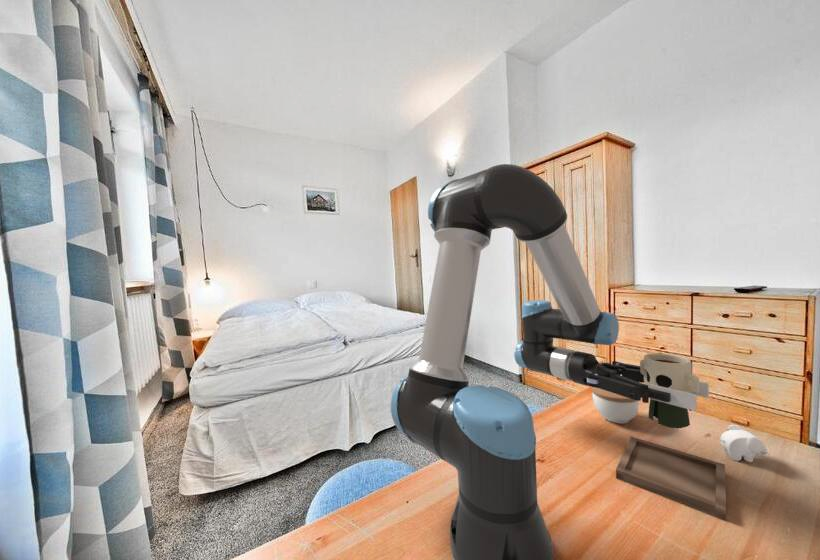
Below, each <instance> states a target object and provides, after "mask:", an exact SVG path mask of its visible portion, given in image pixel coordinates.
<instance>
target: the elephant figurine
mask: <svg viewBox="0 0 820 560" xmlns="http://www.w3.org/2000/svg"><path fill="white" fill-rule="evenodd" d="M716 439H717V440H719V442H720V444H721V448H722V449H723V451H724V452H725V454H726V455H727V456H729V457H730V459H732V460H734V461H741V460H742V458H743V460H744V461H745V462H747V463H753V461H754V458H755V456H758V457H760V458H761V457H763V456H766V455H769V452H768V449H767V448H766V446H765V444H764V442H763V441H762V440H761V439H760V438H759V437H757V436H755V435H754V434H753V433H751V432H749V431H746V430H745V429H744V428H743V427H742V426H740V425H737V424H730V425H728V426H727V428H726V431H724V432H723V433H722V434H721V435H720V438H718V437H717V438H716Z"/></svg>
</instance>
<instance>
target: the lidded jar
mask: <svg viewBox="0 0 820 560" xmlns="http://www.w3.org/2000/svg"><path fill="white" fill-rule="evenodd" d="M591 393H592V402H593V404H594V407H595V408H596V410H597V412H598V413H599V414H600V415H601V416H602V417H604V420H606V419H607V420H606V421H609V422H611V423H615V424H627V423H629V422H630V421H631V420H633V419H634V418H635V417H636V416H637V414H638V412H639V406H640V401H637V400H633V399H630V398H627V397H624V396H621V395H618V394H615V393H612V392H609V391H606V390H603V389H600V388H595V387H591Z"/></svg>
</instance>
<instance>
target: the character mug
mask: <svg viewBox="0 0 820 560" xmlns="http://www.w3.org/2000/svg"><path fill="white" fill-rule="evenodd" d="M639 366H640V372H641V374H642V375H644V383H643V384H645V385H648V388H650V384H653V385H657V386H662V387H666V388H670V389H674V390H679V391H683V392H687V393H691V392H692V393H695V394H698V393H699V391H700V384H699V381H700V378H699V377H698V376H697V375H695V374H693V370H692V369H693V367H692V366H693V365H692V360H691V359H689V358H688V357H684V356H682V355H676V354H670V353H658V352H654V353H652V352H651V353H646V354H644V356H643V359H641V360H640V361H639ZM648 404H649V406H648V415H647V416H648V418H649V420H650V421H652V422H654V418H655V419H657V424H658V425H659V426H663V427H666V428H671V429H677V430H678V429H683V428H687V427H689V426H691V422H690V416H689V409H686V408H682V407H678V406H675V405H671V404H667V403H664V402H660V401H656V400H652V399H650V398H649V403H648Z"/></svg>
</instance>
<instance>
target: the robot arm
mask: <svg viewBox="0 0 820 560" xmlns="http://www.w3.org/2000/svg"><path fill="white" fill-rule="evenodd" d="M431 195H432V196H431V197H430V200H429V201H428V208H427V217H428V218H427V219H428V220H430V222H429V224H430V227H431V229H432V230H433V232H434V234H433V237H434V238H435V240H436V242H437V243H438V245H439V248H438V251H437V252H438V253H437V258H436V265H435V269H434V275H433V280H432V287H431V291H430V298H429V302H428V307H427V313H426V318H425V322H424V323H425V325H424V329H423V335H422V340H421V345H420V346H421V347H420V353H419V358H418V359H417V360H416V361H415V362H414V363H412V364H411V365H409V370H408V374H407V375H405V376H404V377H402V378H401V379H400V383H398V384H396V385H395V387H394V389H393V392H392V396H391V401H390V413H391V418H392V421H393V423H394V425H395V427H396V429H397V430H398V431H399V432H400V433H401V434H402V435H404V436H405V437H406V438H407V439H408V440H409V441H411V443H413V444H417V445H418V446H420V447H421V448H423V449H425V450H426V451H429V453H431V454H433V455H435V456H436V457H438V458H439V459H441V460H443V461H444V462H446V463H448V464H449V465H450V466H452V467H454V468H455V469H456V471H457V480H458V482H457V483H458V495H457V499H456V503H455V506H454V509H453V513H452V517H451V520H450V526H449V535H450V539H449V540H450V549H451V554H452V556H453V557H452V558H453V559H455V560H554V553H553V542H552V539H551V535H550V533H549V531H548V528H547V526H546V522H545V519H544V517H543V514H542V512H541V509H540V506H539V504H538V481H537V459H536V457H537V456H536V455H537V454H536V447H537V437H536V433H535V426H534V420H533V419H534V418H533V416H532V412H531V411H530V409H529V407H528V405H527V404H526V403H525V402H524V401H523V400H522V399H521V398H520V397H518V396H517V395H516V394H514V393H512V392H510V391H508V390H506V389H504V388H501V387H496V386H492V385H490V386H485V385H469V383H470V382H469V381H470V378H469V376H468V375H467V373H466V372H465V370H464V361H465V356H466V355H465V354H466V349H467V341H468V337H469V336H468V335H469V329H470V322H471V316H472V311H473V304H474V297H475V290H476V283H477V278H478V272H479V265H480V258H481V252H482V250H484V249H485V248H487V247H488V246H489V245H490V243H491V236H492V231H493V230H497V229H501V228H502V229H503V228H507V229H510V230H511V231H512V232H513V233H514V235H515V236H516V239H517V240H519V241H520V242H524V243H525V245H526V246H527V249H528V250H529V252H530V255H531V256H532V258H533V260H534V262H535V264H536V266H537V267H538V269H539V272H540V274H541V275H542V277H543V279H544V282H545V283H546V285H547V287H548V289H549V291H550V293H551V295H552V296H553V299H554V301H555V302H556V304H557V306H558V308H553V306H552V303H551V301H550V300H543V299H534V300H533V299H531V300H526V301H524V302H522V305H521V323H522V325H521V326H522V335H523V336H522V337H523V339H522V340H521V341H519V342H518V343H517V344H516V346H515V348H514V349H515V351H514V353H513V355H514V356H513V357H514V360H515V363H516V364H517V365H518V366H519V367H521V368H524V369H526V370H528V371H531V372H535V373H540V374H544V375H548V376H552V377H554V378H559V379H561V380H562V381H563V382H565V381H570V382H573V383H575V384H580V385H582V386H587V387H591V388H592V387H595V388H600V389H603V390H606V391H609V392H612V393H615V394H618V395H621V396H624V397H627V398H630V399H633V400H637V401H639V402H642V403H644V404H650V399H652V400H656V401H660V402H664V403H667V404H671V405H675V406H678V407H682V408H686V409H688V410H691V411H694V412H697V410H698V402H697V400H698V399H697V396H699V397H703V398H706V399H709V397H710V390H709V389H710V388H709V387H710V386H709V385H710V383H709V382H706V381H701V380H699V384H700V391H699V393H698V394H695V393H692V392H691V393H687V392H683V391H679V390H674V389H670V388H666V387H662V386H657V385H653V384H650V388H648V385H645V383H644V375H642V374H641V372H640V365H637V364H630V363H624V362H621V361H616V360H612V361H611V362H612V363H611V362H601V363H600V362H599V361H598V360H597V358H596V356H595V355H594V354H593V353H587V352H583V351H576V350H575V349H574V350H573V349H568V348H562V347H557V346H554V339H559V340H565V341H573V342H579V343H586V344H593V345H595V346H596V345H603V346H611V345H614V344H616V342H617V340H618V337H619V331H620V330H619V329H620V327H619V325H620V324H619V319H618V317H617V315H616V314H615V313H612V312H607V311H601V309H600V308H599V304H598V302H597V299H596V298H595V296H594V293H593V290H592V287H591V285H590V283H589V280H588V278H587V276H586V275H585V271H584V269H583V265H582V264H581V262H580V259H579V257H578V254H577V251H576V249H575V248H574V244H573V243H572V240H571V238H570V234H569V233H568V230H567V228H566V225H565V224H566V223H567V220H568V213H567V211H566V209H565V205H564V204H563V201H562V200H561V198H560V196H559V194H557V193H556V190H555V189H553V187H552V186H550V184H549V183H548V182H546V181H545V180H544V179H543V178H542V177H540V176H539V175H538V174H536V173H535V172H533V171H531V170H530V169H527V168H525V167H524V166H523V167H522V166H520V165H517V164H512V163H511V164H508V163H501V164H496V165H492V166H491V167H489V168H487V169H486V168H485V169H483V170H480V171H478V172H475V173H473V174H470V175H467V176H464V177H462V178H458V179H452V180H450V181H448V182H447V183H445V184H443V185H441V186H440V187H439V188H437V189H436V190H435V191H434V192H433V194H431Z"/></svg>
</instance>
